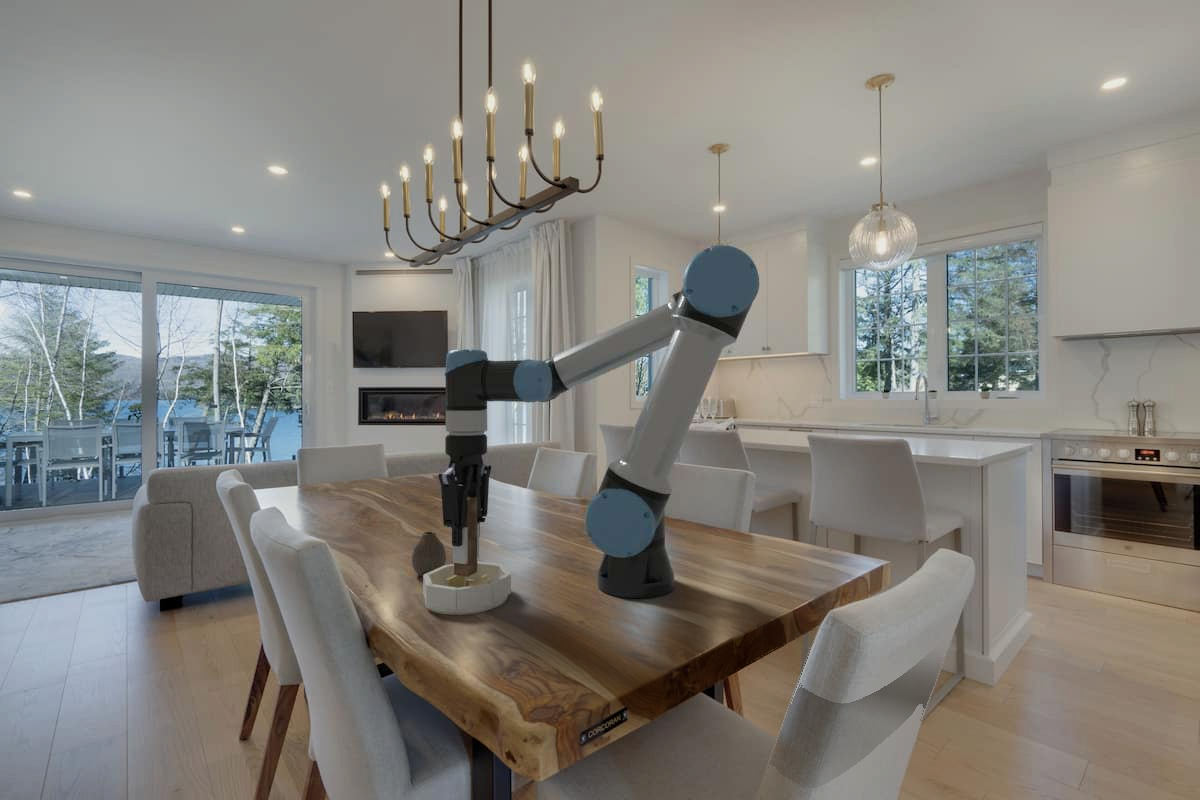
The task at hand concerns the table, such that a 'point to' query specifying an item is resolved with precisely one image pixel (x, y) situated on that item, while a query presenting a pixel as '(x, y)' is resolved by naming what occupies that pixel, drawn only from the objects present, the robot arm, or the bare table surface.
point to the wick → (469, 540)
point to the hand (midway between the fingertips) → (466, 559)
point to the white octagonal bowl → (466, 589)
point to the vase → (428, 554)
